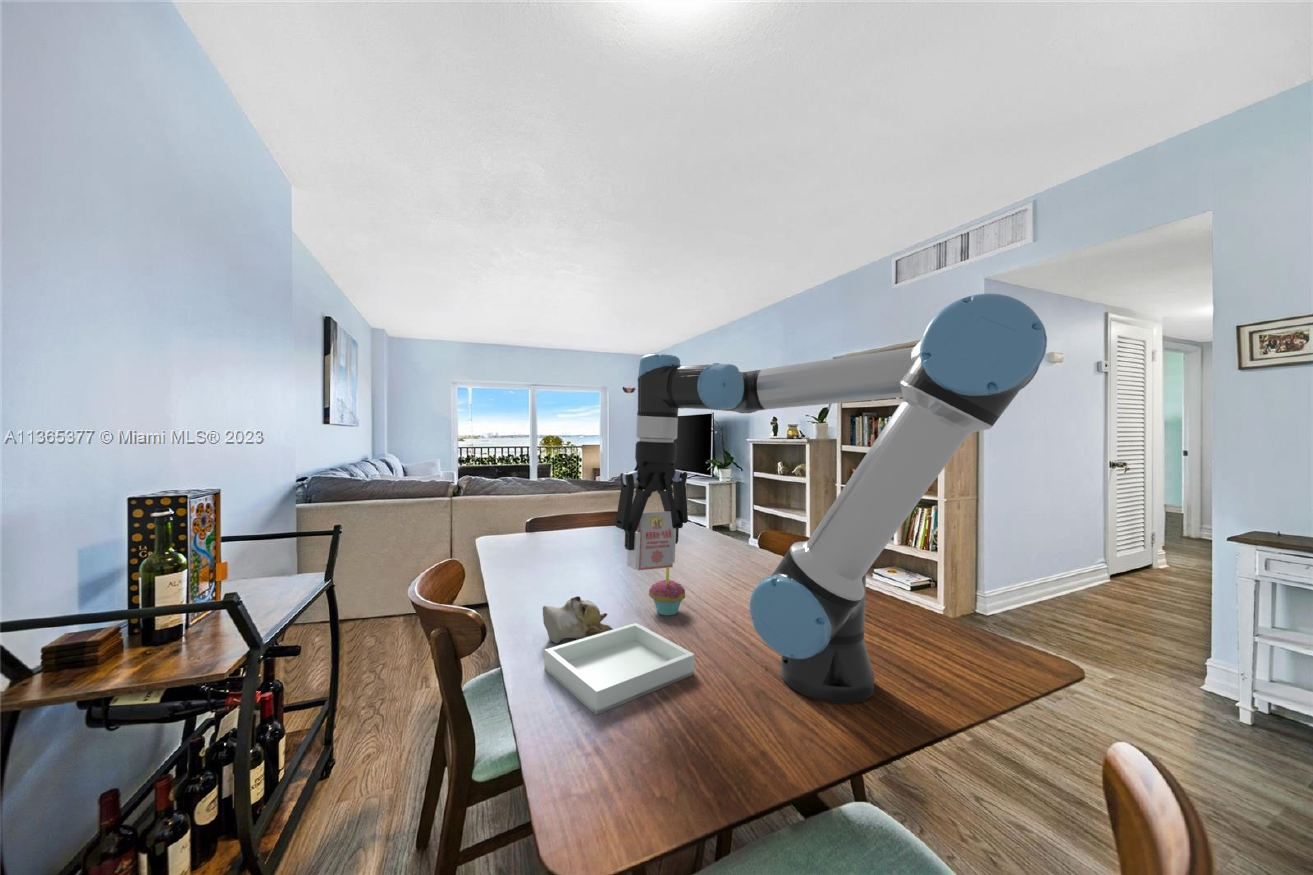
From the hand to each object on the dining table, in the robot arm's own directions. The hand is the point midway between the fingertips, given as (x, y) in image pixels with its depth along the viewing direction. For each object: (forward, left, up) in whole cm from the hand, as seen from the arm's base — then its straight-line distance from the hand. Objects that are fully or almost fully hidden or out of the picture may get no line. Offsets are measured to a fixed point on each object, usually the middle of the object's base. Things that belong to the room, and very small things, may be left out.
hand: (651, 564), depth 89 cm
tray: (-1, +7, -18) cm, 19 cm away
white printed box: (0, 0, -1) cm, 1 cm away
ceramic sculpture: (+16, +6, -18) cm, 25 cm away
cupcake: (+16, -18, -18) cm, 30 cm away
